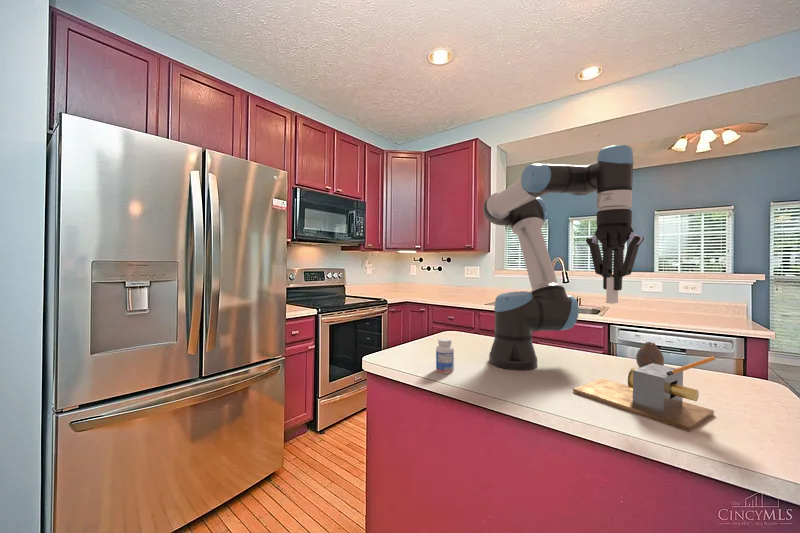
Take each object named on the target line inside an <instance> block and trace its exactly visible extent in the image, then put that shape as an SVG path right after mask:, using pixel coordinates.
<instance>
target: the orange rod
mask: <svg viewBox="0 0 800 533" xmlns="http://www.w3.org/2000/svg"><path fill="white" fill-rule="evenodd" d="M716 359H717V358H715V356H714V355H712V356H710V357H706V358H704V359H701V360H697V361H695V362H692V363H689V364H686V365H683V366H680V367H676V368H677V369H675V370H672V372H673V374H675V373H678V372H681V371H683V372H684V371H687V370H690V369H693V368H696V367H699V366H701V365H705V364H707V363H710V362H713V361H716Z"/></svg>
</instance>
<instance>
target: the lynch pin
mask: <svg viewBox="0 0 800 533" xmlns="http://www.w3.org/2000/svg"><path fill="white" fill-rule="evenodd" d="M635 369H638V368H636V367H632V368H630V371H629V372H628V375H627V386H629V388H630V389H632V390H633V370H635ZM670 394H671V395H675V396H679V397H682V398H683V399H687V400H689V401H693V402H697V401H699V394H700V392H699V389H695V388H692V387H688V386H684V385H683V386H680V385H676V384H672V383H670Z"/></svg>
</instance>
